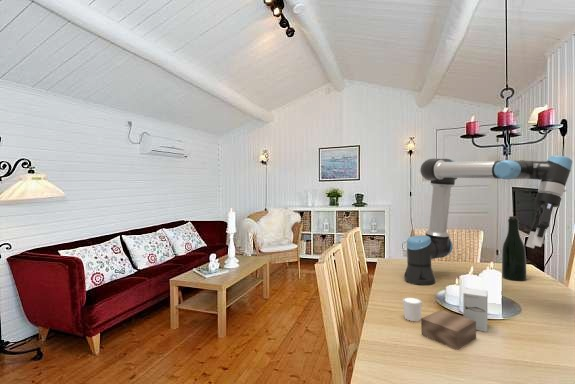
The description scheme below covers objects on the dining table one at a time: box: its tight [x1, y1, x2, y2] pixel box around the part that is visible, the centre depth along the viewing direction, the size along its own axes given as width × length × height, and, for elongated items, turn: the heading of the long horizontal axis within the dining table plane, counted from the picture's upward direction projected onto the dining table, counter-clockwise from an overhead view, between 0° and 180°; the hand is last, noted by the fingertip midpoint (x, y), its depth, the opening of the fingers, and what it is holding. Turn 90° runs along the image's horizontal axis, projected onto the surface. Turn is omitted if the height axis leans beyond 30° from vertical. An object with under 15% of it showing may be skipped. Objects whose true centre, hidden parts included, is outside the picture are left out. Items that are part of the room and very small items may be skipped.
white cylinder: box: [402, 297, 423, 322], centre depth 118 cm, size 7×7×7 cm
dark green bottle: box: [501, 215, 527, 282], centre depth 164 cm, size 10×10×33 cm
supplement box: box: [462, 287, 489, 333], centre depth 111 cm, size 7×7×13 cm
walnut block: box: [420, 309, 477, 351], centre depth 104 cm, size 12×12×6 cm
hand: (532, 246), depth 120 cm, fingers open, 13 cm apart
